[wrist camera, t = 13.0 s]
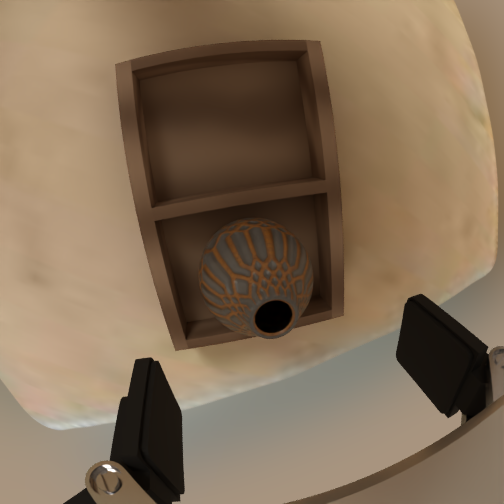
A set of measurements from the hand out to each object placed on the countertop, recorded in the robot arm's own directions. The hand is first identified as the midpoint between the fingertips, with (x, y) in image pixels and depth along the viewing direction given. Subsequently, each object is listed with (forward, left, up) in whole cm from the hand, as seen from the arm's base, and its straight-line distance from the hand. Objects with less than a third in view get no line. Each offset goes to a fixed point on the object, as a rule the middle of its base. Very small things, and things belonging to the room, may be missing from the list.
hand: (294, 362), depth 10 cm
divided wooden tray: (-4, 0, -14) cm, 15 cm away
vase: (0, 0, -13) cm, 13 cm away
